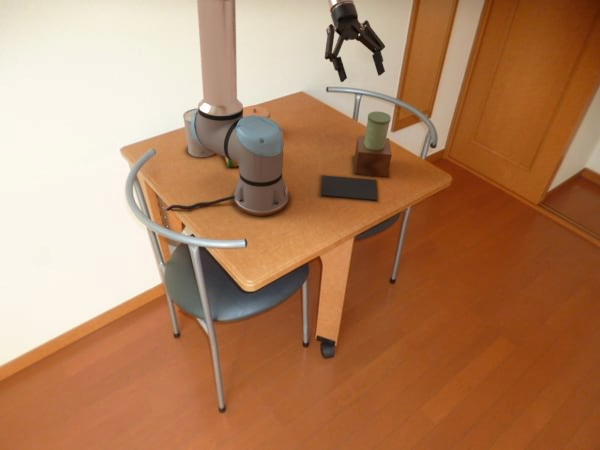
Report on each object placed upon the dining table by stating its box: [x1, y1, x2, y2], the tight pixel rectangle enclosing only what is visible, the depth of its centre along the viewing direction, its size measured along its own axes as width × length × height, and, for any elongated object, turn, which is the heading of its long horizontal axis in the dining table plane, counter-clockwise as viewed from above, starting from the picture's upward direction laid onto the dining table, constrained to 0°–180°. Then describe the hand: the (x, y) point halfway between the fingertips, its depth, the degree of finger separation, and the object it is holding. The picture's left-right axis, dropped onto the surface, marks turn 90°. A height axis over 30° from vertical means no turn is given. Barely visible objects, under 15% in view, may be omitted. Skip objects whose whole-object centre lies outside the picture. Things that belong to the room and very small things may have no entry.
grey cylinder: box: [182, 107, 216, 158], centre depth 134 cm, size 10×10×12 cm
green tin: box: [364, 111, 392, 150], centre depth 126 cm, size 7×7×10 cm
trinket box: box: [243, 105, 271, 119], centre depth 145 cm, size 11×11×9 cm
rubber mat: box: [321, 175, 378, 202], centre depth 125 cm, size 16×10×1 cm, turn 86°
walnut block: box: [353, 135, 393, 178], centre depth 132 cm, size 10×10×8 cm
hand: (363, 76), depth 125 cm, fingers open, 13 cm apart
